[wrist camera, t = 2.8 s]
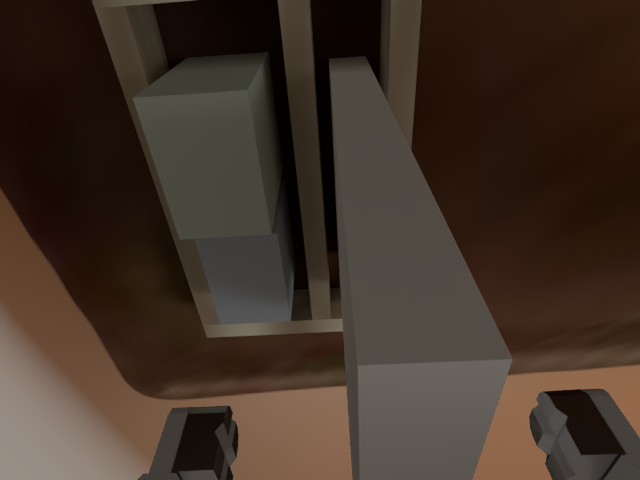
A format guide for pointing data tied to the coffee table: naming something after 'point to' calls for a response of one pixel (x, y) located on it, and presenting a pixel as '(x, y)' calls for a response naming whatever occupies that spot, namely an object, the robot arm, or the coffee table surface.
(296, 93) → the birch rack
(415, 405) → the tall board
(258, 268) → the slate offcut
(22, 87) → the coffee table surface
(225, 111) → the sage offcut
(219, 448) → the robot arm
